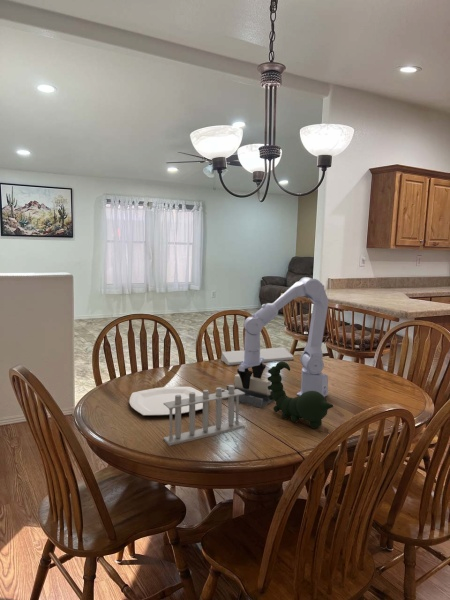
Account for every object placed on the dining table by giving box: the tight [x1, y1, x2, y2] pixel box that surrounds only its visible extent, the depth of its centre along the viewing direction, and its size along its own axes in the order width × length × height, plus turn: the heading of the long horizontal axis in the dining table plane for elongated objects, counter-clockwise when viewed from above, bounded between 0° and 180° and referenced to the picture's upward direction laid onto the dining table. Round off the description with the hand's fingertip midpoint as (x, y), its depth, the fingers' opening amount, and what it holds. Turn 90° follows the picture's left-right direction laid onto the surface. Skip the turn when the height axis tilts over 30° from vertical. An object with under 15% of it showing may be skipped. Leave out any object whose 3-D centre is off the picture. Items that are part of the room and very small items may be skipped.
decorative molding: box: [220, 346, 294, 366], centre depth 209 cm, size 34×5×10 cm
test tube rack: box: [162, 384, 246, 446], centre depth 126 cm, size 25×4×13 cm, turn 121°
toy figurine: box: [267, 361, 334, 429], centre depth 135 cm, size 9×19×25 cm
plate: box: [128, 386, 203, 417], centre depth 150 cm, size 27×27×2 cm
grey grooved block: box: [222, 381, 274, 409], centre depth 158 cm, size 18×16×3 cm
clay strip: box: [233, 373, 271, 395], centre depth 158 cm, size 14×2×6 cm, turn 55°
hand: (251, 385), depth 158 cm, fingers open, 7 cm apart
